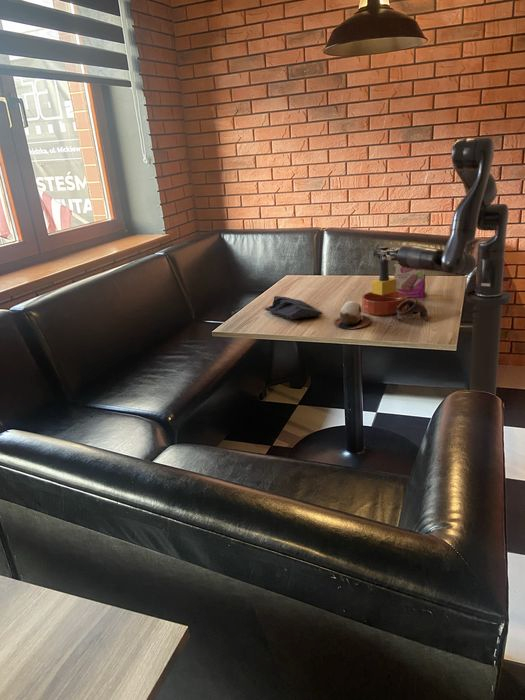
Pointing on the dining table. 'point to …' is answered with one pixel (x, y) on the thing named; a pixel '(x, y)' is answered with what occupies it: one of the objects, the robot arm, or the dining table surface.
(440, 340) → the dining table surface
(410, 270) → the candy bar box
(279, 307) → the folded black cloth
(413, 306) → the pottery mug
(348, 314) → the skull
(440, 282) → the dining table surface
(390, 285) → the sponge wand
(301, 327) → the dining table surface
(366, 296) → the terracotta ring
